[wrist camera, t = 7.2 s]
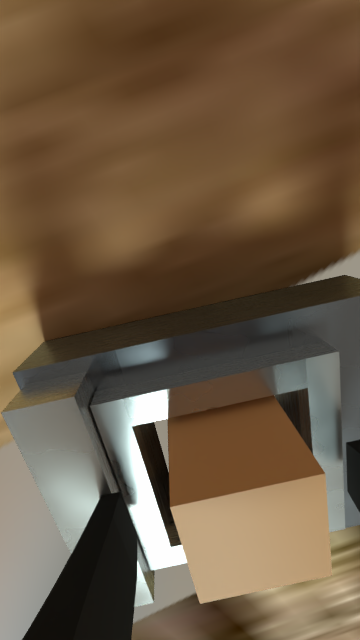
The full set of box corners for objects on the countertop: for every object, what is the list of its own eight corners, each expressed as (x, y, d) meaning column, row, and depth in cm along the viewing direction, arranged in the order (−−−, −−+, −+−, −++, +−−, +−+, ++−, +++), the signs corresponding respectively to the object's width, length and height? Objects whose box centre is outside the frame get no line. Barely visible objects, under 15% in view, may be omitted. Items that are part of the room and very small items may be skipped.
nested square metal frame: (115, 520, 14) (99, 623, 11) (44, 341, 11) (-15, 398, 7) (349, 470, 14) (415, 555, 11) (344, 274, 11) (436, 299, 7)
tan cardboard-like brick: (183, 439, 13) (200, 603, 7) (166, 374, 12) (170, 507, 6) (258, 423, 13) (332, 575, 7) (247, 355, 12) (325, 473, 6)
